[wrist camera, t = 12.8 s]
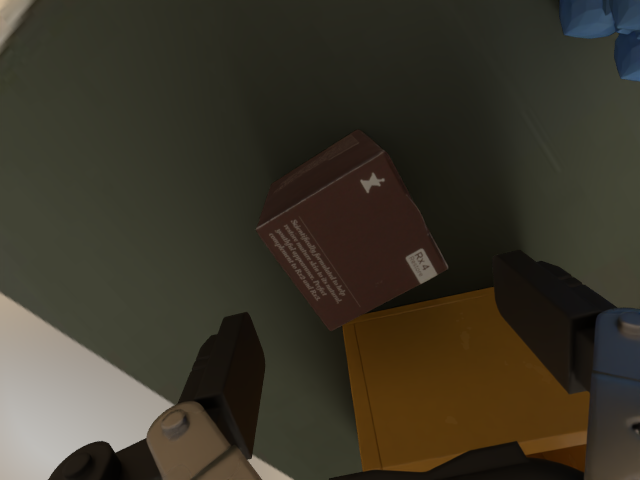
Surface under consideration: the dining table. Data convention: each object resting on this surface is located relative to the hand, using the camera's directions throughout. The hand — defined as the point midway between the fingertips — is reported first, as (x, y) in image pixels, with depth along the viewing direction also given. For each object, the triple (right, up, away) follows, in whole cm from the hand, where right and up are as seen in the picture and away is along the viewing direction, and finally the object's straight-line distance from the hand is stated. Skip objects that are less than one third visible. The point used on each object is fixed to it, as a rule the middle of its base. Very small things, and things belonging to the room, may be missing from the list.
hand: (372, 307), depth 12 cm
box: (-1, +5, +10) cm, 11 cm away
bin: (+7, -8, +15) cm, 19 cm away
